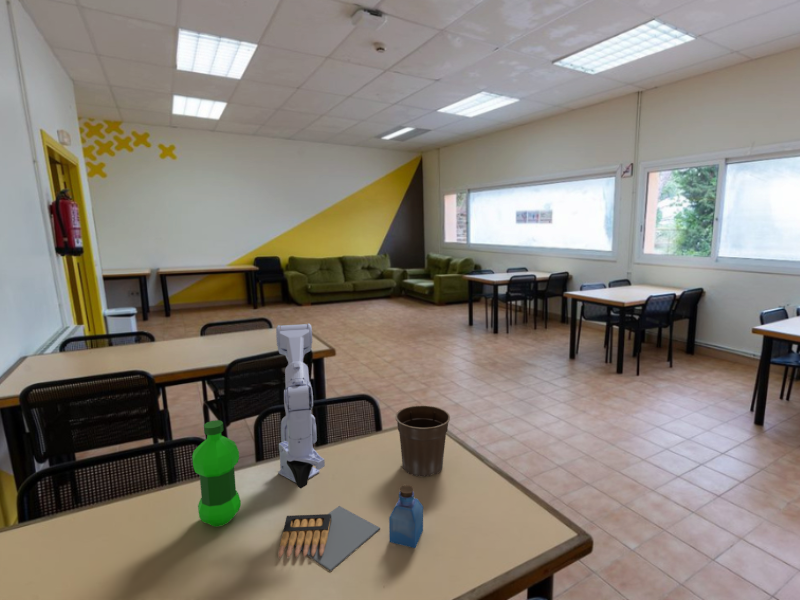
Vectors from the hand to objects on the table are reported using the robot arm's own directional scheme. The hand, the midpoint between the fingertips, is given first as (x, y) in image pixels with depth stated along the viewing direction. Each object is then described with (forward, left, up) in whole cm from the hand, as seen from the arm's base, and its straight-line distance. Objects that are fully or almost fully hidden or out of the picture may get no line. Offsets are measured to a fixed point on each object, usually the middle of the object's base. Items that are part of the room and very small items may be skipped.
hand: (302, 485), depth 105 cm
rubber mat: (+11, 0, -8) cm, 14 cm away
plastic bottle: (-15, -13, -9) cm, 22 cm away
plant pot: (+11, +37, -9) cm, 39 cm away
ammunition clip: (+3, -1, -7) cm, 8 cm away
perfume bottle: (+25, +10, -9) cm, 28 cm away
